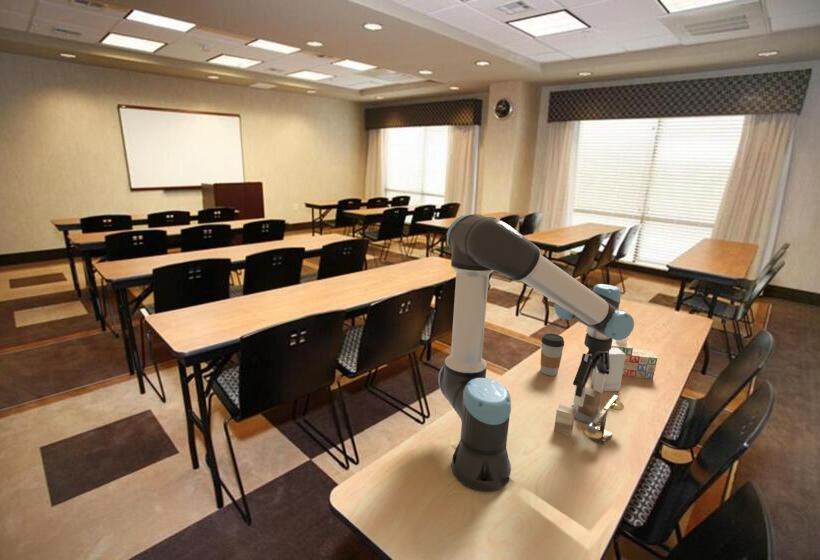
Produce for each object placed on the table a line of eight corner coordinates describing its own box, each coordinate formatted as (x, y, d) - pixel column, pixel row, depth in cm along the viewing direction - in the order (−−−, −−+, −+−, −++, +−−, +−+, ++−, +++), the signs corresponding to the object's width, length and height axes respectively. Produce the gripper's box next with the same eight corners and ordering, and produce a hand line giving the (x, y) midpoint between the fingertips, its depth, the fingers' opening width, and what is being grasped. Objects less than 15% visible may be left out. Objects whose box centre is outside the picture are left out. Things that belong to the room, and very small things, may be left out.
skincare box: (611, 383, 151) (618, 346, 147) (620, 392, 145) (627, 354, 141) (589, 383, 151) (595, 346, 147) (597, 392, 145) (603, 353, 141)
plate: (595, 428, 123) (595, 424, 123) (564, 413, 130) (564, 410, 130) (609, 416, 130) (609, 413, 129) (578, 403, 137) (579, 400, 136)
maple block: (569, 435, 119) (572, 414, 117) (553, 430, 122) (556, 409, 120) (573, 428, 123) (576, 407, 121) (557, 423, 125) (560, 402, 123)
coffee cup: (561, 379, 153) (566, 342, 149) (538, 376, 154) (543, 340, 151) (558, 369, 161) (563, 334, 157) (536, 367, 162) (540, 332, 159)
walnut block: (577, 411, 130) (580, 391, 128) (584, 406, 133) (587, 387, 131) (591, 417, 127) (594, 397, 125) (597, 412, 129) (601, 392, 128)
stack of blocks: (647, 372, 160) (653, 343, 157) (653, 380, 155) (659, 351, 151) (590, 365, 165) (594, 337, 161) (593, 372, 159) (598, 344, 155)
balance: (595, 454, 111) (601, 418, 108) (577, 445, 115) (583, 410, 112) (622, 428, 123) (628, 396, 120) (605, 421, 127) (611, 389, 124)
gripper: (593, 348, 112) (581, 416, 117) (628, 330, 129) (616, 390, 134) (567, 340, 118) (557, 405, 123) (604, 323, 134) (593, 381, 139)
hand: (588, 397), depth 128 cm, fingers open, 13 cm apart
